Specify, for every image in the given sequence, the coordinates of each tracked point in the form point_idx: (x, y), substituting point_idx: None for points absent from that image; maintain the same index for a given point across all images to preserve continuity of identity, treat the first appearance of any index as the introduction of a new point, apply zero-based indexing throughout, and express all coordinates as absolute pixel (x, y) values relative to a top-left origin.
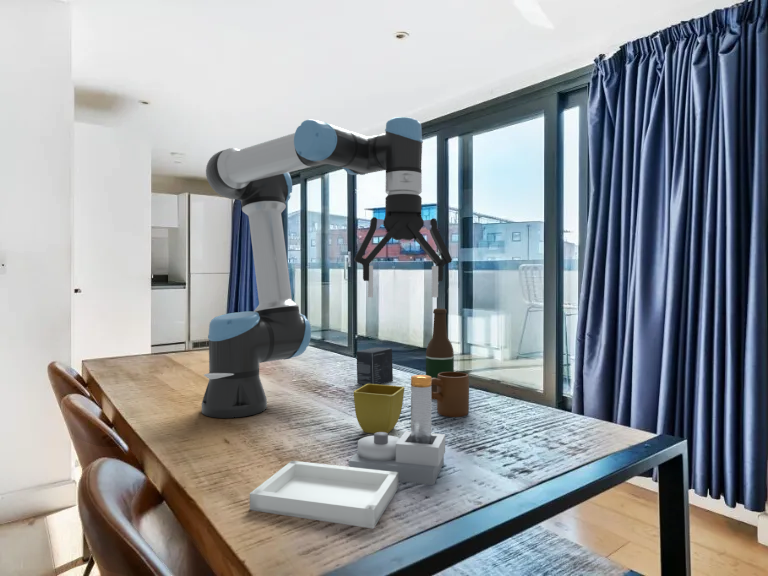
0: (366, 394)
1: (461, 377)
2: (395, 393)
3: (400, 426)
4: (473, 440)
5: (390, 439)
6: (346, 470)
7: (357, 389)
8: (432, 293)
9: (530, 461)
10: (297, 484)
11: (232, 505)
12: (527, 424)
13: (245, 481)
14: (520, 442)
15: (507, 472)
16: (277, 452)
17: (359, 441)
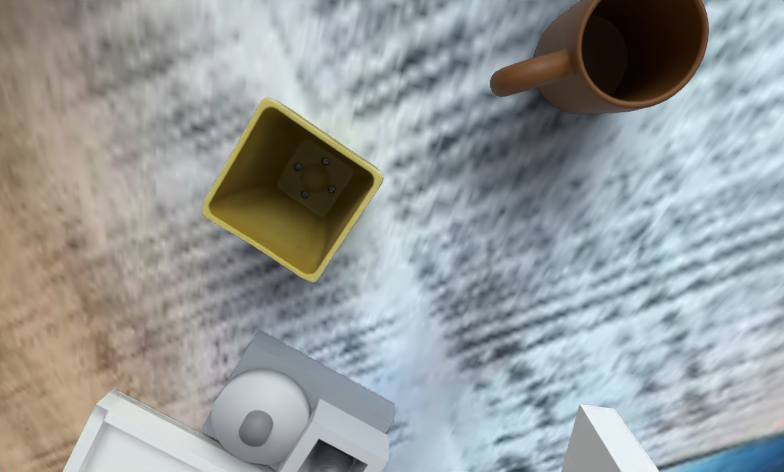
0: (240, 237)
1: (645, 107)
2: (328, 261)
3: (381, 152)
4: (514, 303)
5: (281, 412)
6: (192, 465)
7: (216, 185)
8: (584, 458)
9: (557, 437)
10: (122, 441)
11: (36, 464)
12: (721, 225)
13: (38, 389)
14: (609, 342)
15: (486, 467)
16: (75, 265)
17: (216, 407)
